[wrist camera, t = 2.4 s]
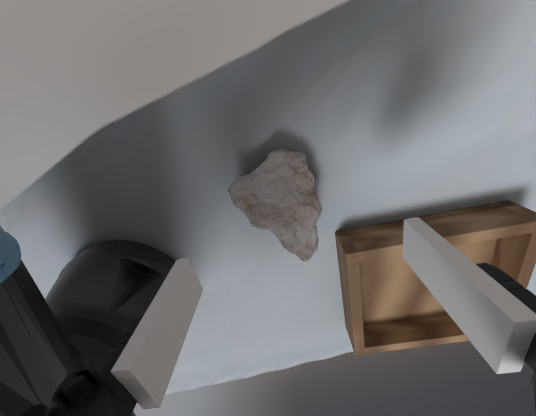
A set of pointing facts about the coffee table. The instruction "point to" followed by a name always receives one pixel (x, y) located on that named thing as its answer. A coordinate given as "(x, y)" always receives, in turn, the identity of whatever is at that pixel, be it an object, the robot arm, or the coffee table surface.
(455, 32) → the coffee table surface
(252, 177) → the stone
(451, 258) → the robot arm
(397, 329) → the tray
